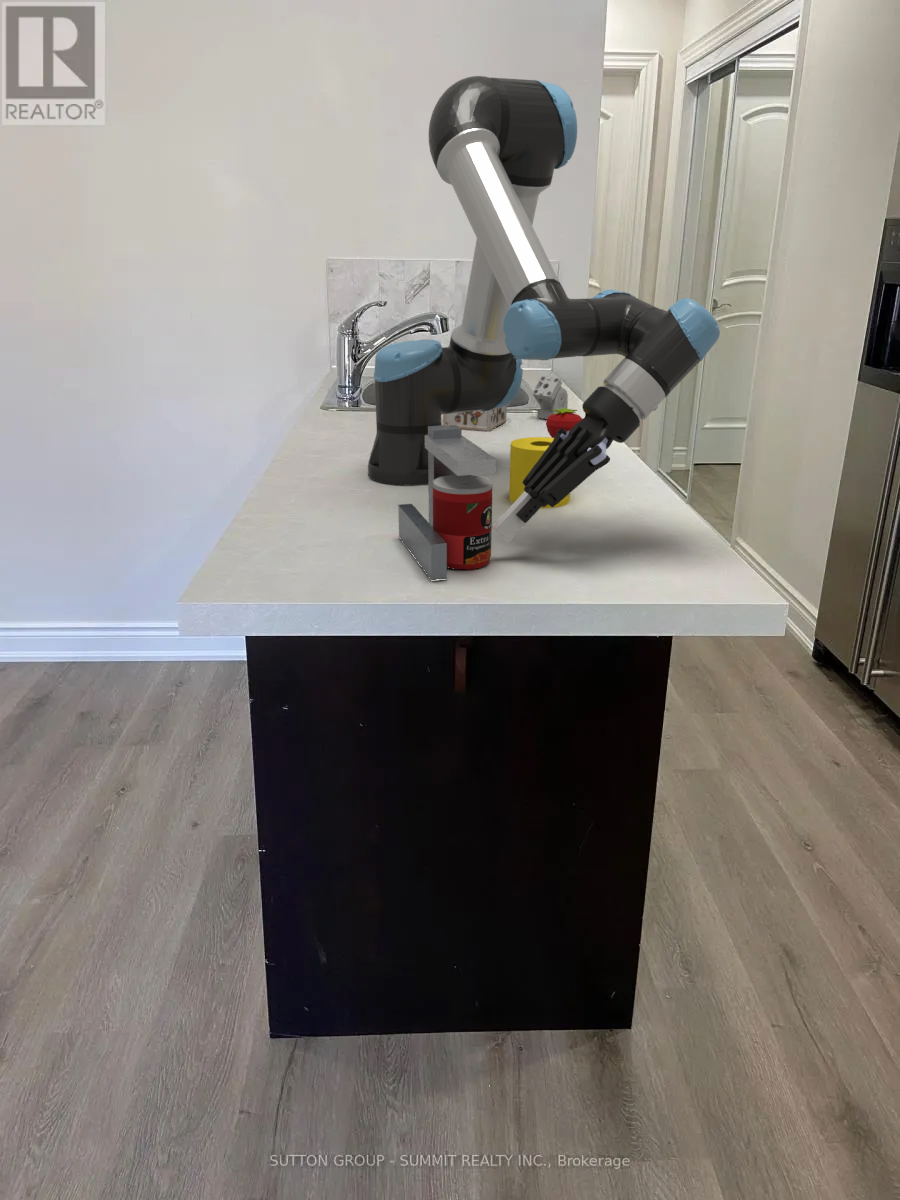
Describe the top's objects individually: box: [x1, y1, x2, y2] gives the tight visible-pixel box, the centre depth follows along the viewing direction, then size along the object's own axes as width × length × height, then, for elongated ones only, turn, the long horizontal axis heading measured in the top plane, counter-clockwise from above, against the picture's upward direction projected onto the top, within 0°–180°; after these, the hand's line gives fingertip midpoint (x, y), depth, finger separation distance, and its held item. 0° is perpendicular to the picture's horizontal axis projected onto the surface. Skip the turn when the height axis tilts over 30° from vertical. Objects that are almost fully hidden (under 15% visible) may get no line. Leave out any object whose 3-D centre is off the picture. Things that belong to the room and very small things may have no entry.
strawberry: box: [545, 401, 583, 438], centre depth 183 cm, size 6×8×10 cm
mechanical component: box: [531, 375, 569, 420], centre depth 213 cm, size 5×8×10 cm
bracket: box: [397, 424, 497, 581], centre depth 122 cm, size 10×20×16 cm, turn 16°
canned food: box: [433, 475, 493, 571], centre depth 120 cm, size 8×8×11 cm
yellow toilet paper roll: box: [508, 436, 571, 509], centre depth 149 cm, size 10×10×9 cm
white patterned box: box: [442, 405, 508, 432], centre depth 205 cm, size 12×12×18 cm
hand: (500, 534), depth 122 cm, fingers closed
